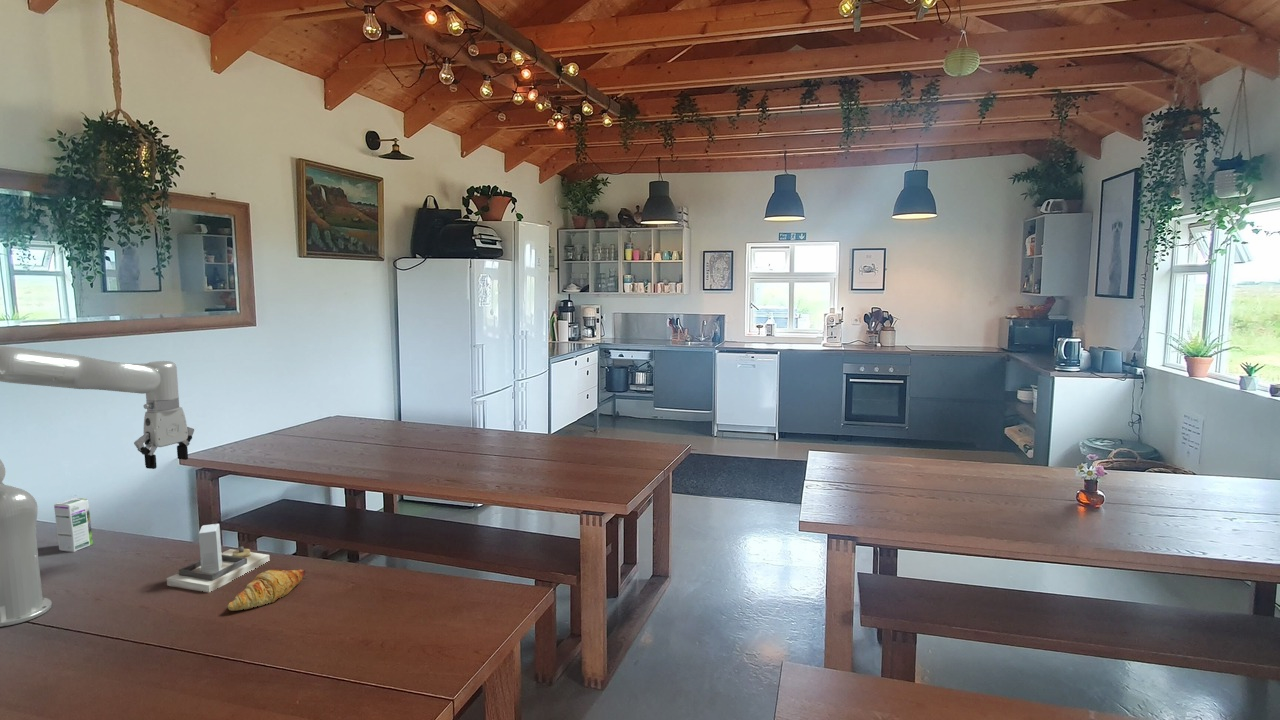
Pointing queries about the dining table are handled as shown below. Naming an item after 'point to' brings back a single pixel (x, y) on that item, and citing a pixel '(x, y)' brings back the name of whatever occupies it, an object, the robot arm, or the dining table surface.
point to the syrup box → (73, 524)
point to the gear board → (231, 568)
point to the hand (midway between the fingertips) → (167, 463)
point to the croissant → (266, 588)
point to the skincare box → (210, 548)
